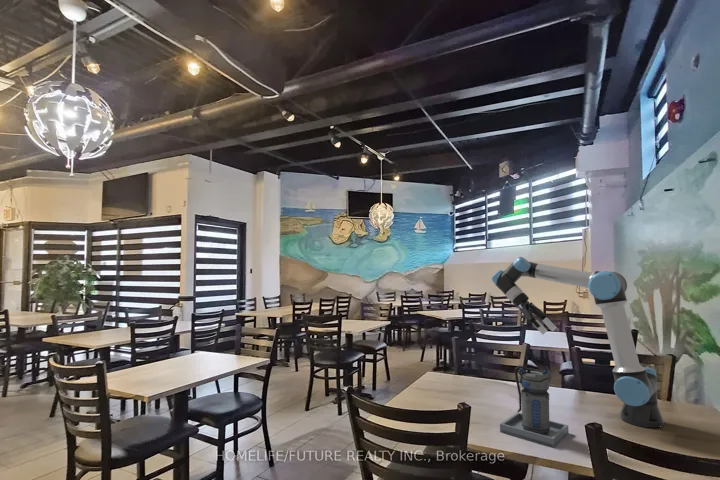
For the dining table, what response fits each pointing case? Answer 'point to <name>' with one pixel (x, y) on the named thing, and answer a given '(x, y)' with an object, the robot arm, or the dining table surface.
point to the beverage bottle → (534, 398)
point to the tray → (516, 429)
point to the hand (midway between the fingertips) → (550, 331)
